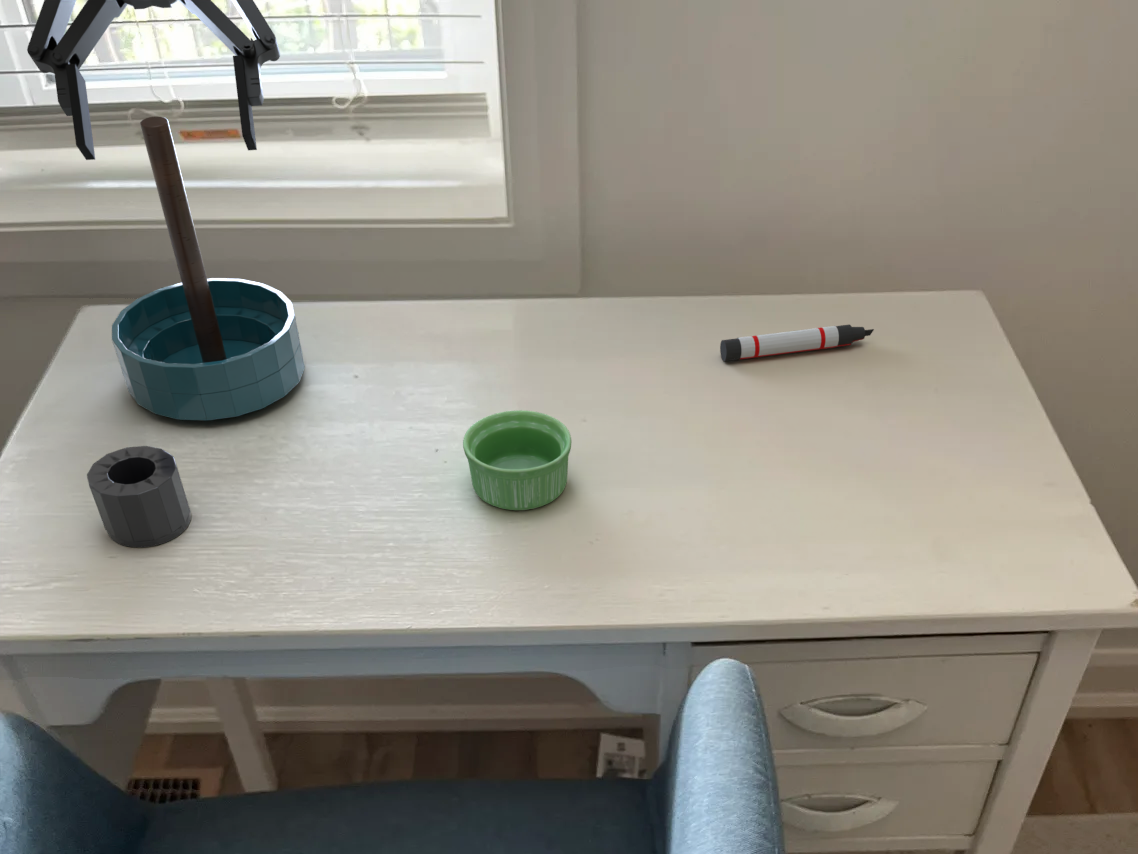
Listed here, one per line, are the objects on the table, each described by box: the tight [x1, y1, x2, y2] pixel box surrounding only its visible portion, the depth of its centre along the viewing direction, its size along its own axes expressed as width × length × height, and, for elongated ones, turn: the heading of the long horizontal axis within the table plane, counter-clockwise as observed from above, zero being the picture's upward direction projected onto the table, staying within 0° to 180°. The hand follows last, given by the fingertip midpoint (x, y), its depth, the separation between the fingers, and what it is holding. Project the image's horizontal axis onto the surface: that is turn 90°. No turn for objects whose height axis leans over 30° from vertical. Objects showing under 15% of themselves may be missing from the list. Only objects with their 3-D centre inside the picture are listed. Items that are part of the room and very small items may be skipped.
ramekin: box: [462, 409, 572, 511], centre depth 100 cm, size 9×9×4 cm
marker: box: [719, 324, 875, 362], centre depth 115 cm, size 15×2×2 cm, turn 103°
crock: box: [86, 445, 192, 548], centre depth 96 cm, size 7×7×5 cm
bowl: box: [111, 277, 306, 421], centre depth 111 cm, size 16×16×6 cm
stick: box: [139, 116, 227, 363], centre depth 104 cm, size 2×2×22 cm
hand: (168, 148), depth 101 cm, fingers open, 13 cm apart
